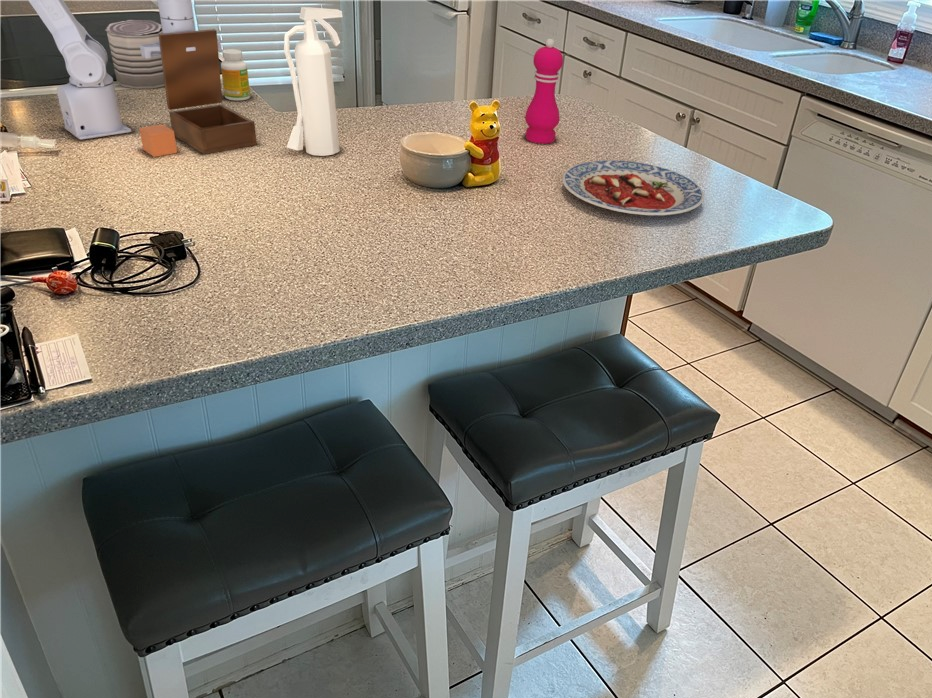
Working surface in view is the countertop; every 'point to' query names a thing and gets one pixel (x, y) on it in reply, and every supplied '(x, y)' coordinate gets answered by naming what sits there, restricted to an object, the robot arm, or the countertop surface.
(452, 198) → the countertop surface
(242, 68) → the supplement bottle
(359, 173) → the countertop surface
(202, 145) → the box
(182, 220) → the countertop surface
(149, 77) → the can
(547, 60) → the pepper mill
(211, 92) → the lid
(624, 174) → the ceramic plate
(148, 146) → the block
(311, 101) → the fire extinguisher
